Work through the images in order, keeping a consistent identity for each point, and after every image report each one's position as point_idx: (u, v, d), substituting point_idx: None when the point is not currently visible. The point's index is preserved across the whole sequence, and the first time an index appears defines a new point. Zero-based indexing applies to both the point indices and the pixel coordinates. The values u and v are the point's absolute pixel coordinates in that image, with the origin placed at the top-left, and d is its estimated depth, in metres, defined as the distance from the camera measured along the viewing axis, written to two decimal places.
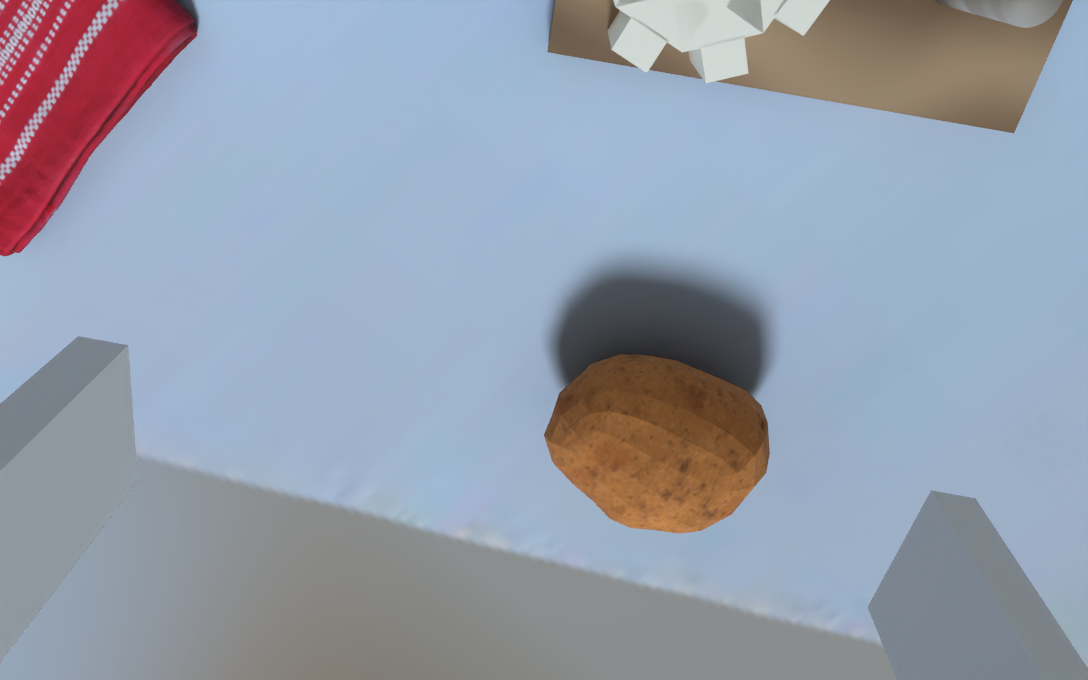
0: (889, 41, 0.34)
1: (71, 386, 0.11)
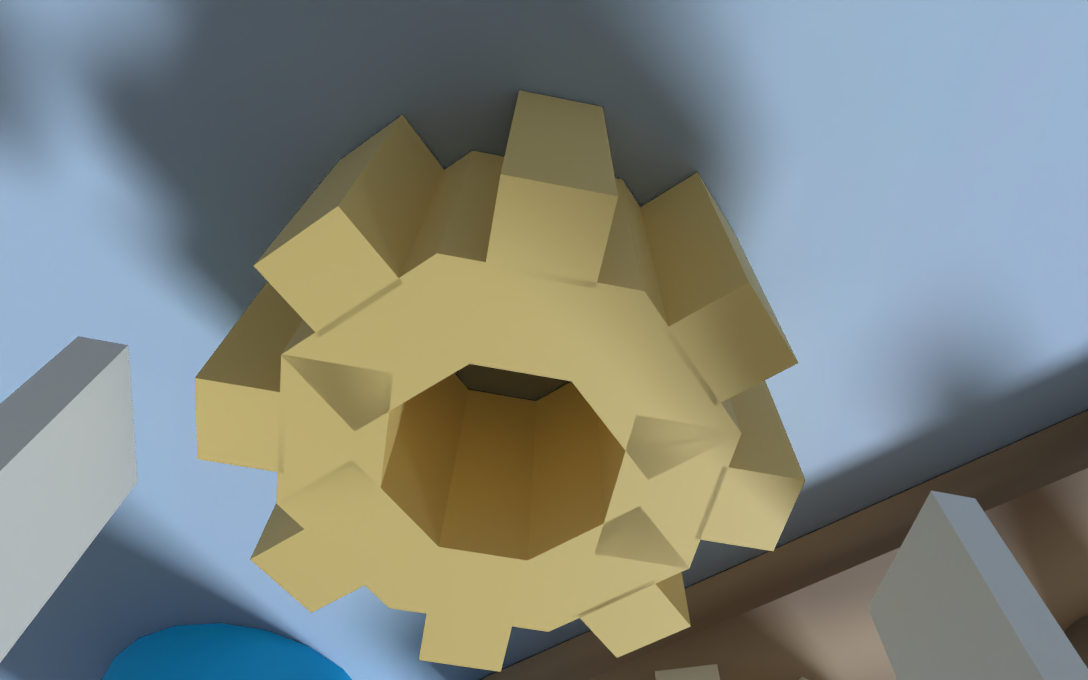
0: None
1: (71, 386, 0.11)
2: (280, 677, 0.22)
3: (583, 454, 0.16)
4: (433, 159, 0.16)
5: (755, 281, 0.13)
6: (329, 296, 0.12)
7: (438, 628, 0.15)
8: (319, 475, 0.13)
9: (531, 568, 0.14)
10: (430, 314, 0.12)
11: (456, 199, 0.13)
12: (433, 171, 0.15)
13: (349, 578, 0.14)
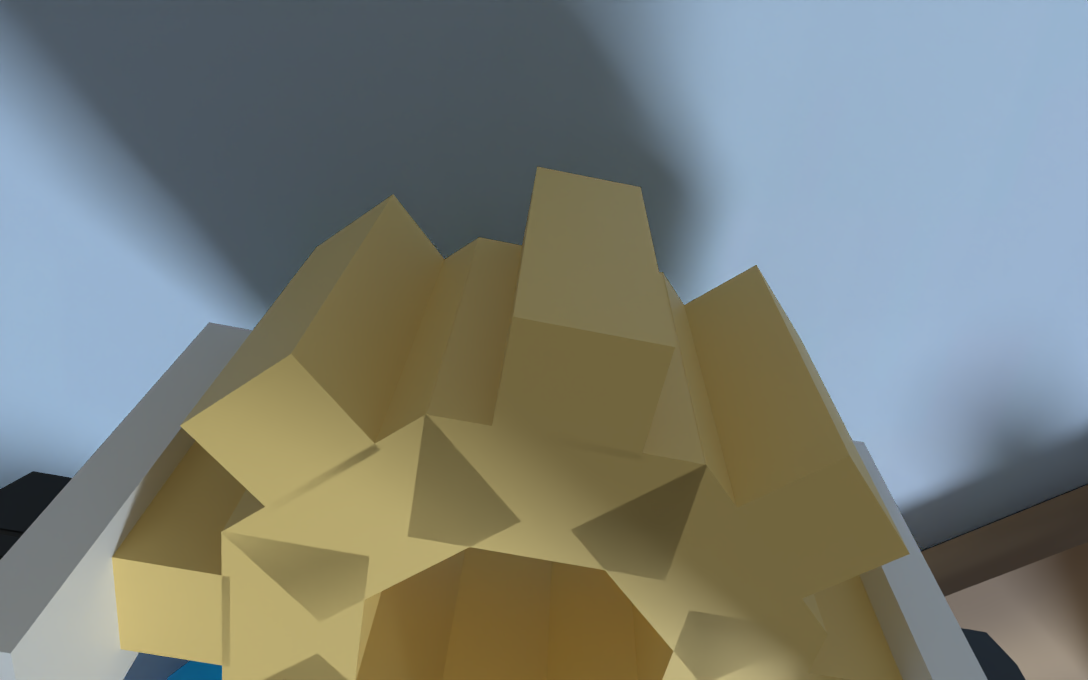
0: None
1: (214, 366, 0.12)
2: None
3: (613, 616, 0.13)
4: (430, 248, 0.13)
5: (840, 423, 0.10)
6: (282, 464, 0.09)
7: None
8: (276, 670, 0.10)
9: None
10: (417, 488, 0.09)
11: (456, 316, 0.10)
12: (430, 264, 0.12)
13: None
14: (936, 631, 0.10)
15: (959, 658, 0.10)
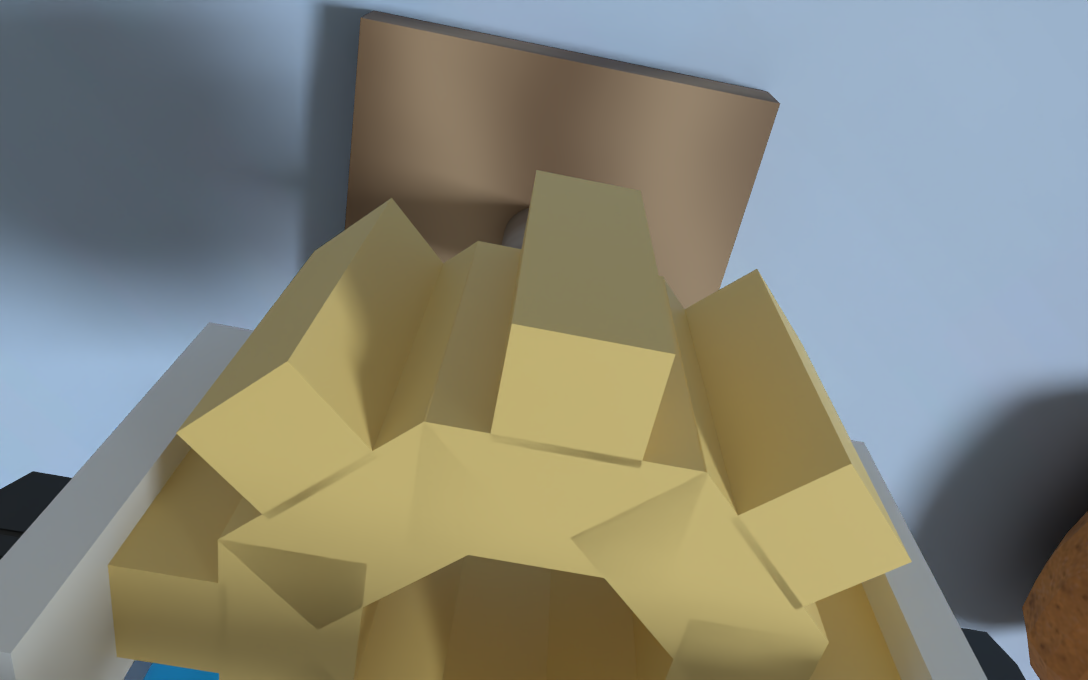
0: None
1: (213, 366, 0.12)
2: None
3: (612, 621, 0.12)
4: (429, 252, 0.13)
5: (842, 429, 0.10)
6: (279, 471, 0.09)
7: None
8: (273, 678, 0.10)
9: None
10: (415, 496, 0.09)
11: (455, 321, 0.10)
12: (429, 268, 0.12)
13: None
14: (936, 631, 0.10)
15: (959, 658, 0.10)
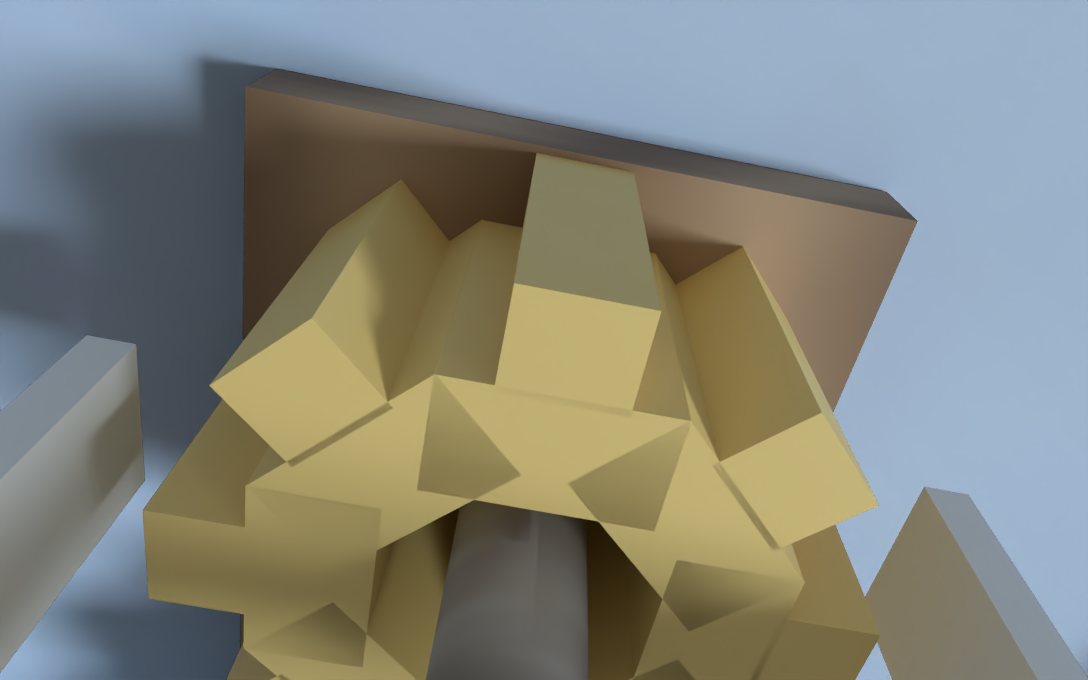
0: None
1: (80, 385, 0.11)
2: None
3: (607, 576, 0.13)
4: (436, 230, 0.13)
5: (819, 390, 0.11)
6: (303, 421, 0.09)
7: None
8: (294, 619, 0.11)
9: None
10: (427, 444, 0.10)
11: (462, 290, 0.11)
12: (436, 244, 0.13)
13: None
14: None
15: None
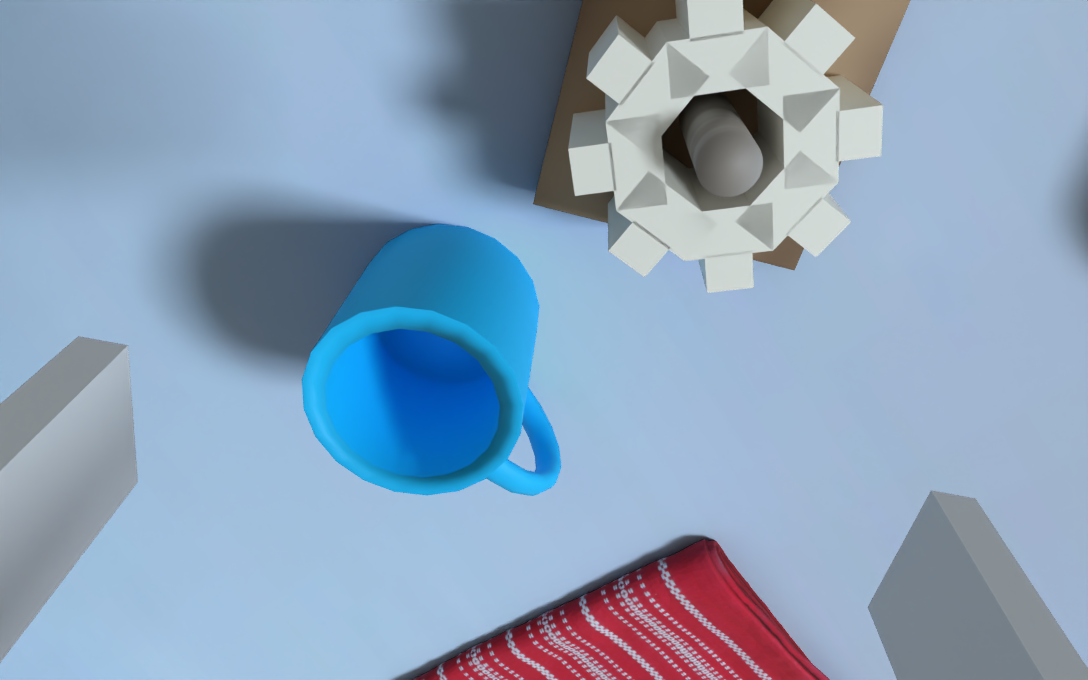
0: None
1: (71, 385, 0.11)
2: (422, 235, 0.33)
3: None
4: None
5: None
6: None
7: None
8: None
9: None
10: None
11: None
12: None
13: None
14: None
15: None
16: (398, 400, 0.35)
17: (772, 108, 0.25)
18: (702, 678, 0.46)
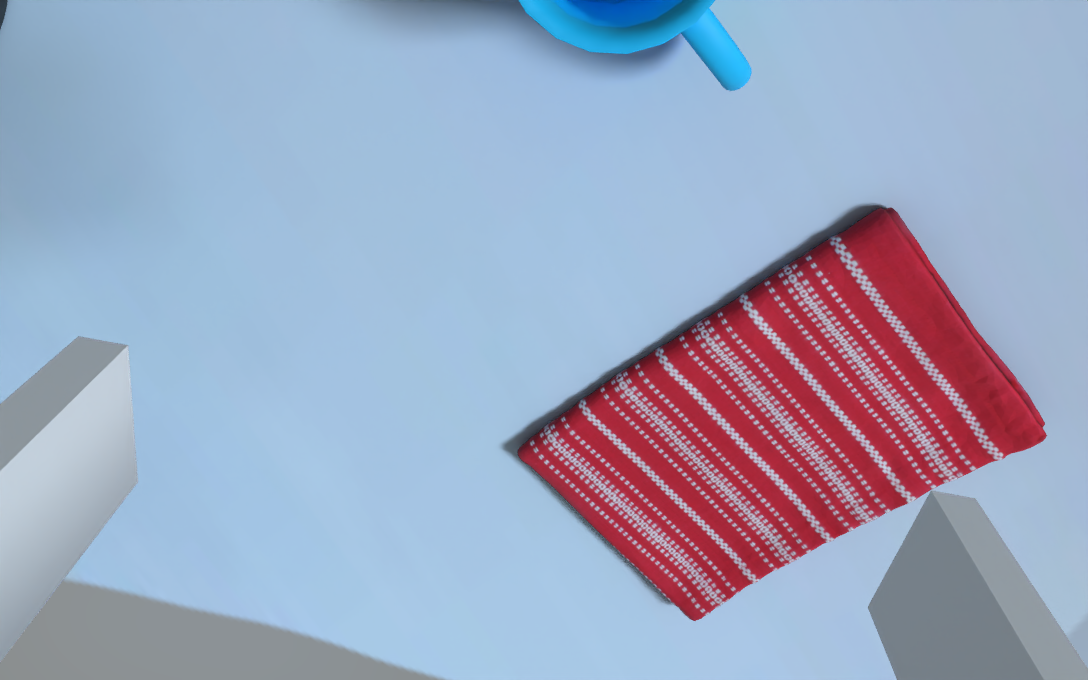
0: None
1: (70, 386, 0.11)
2: None
3: None
4: None
5: None
6: None
7: None
8: None
9: None
10: None
11: None
12: None
13: None
14: None
15: None
16: None
17: None
18: (869, 388, 0.42)
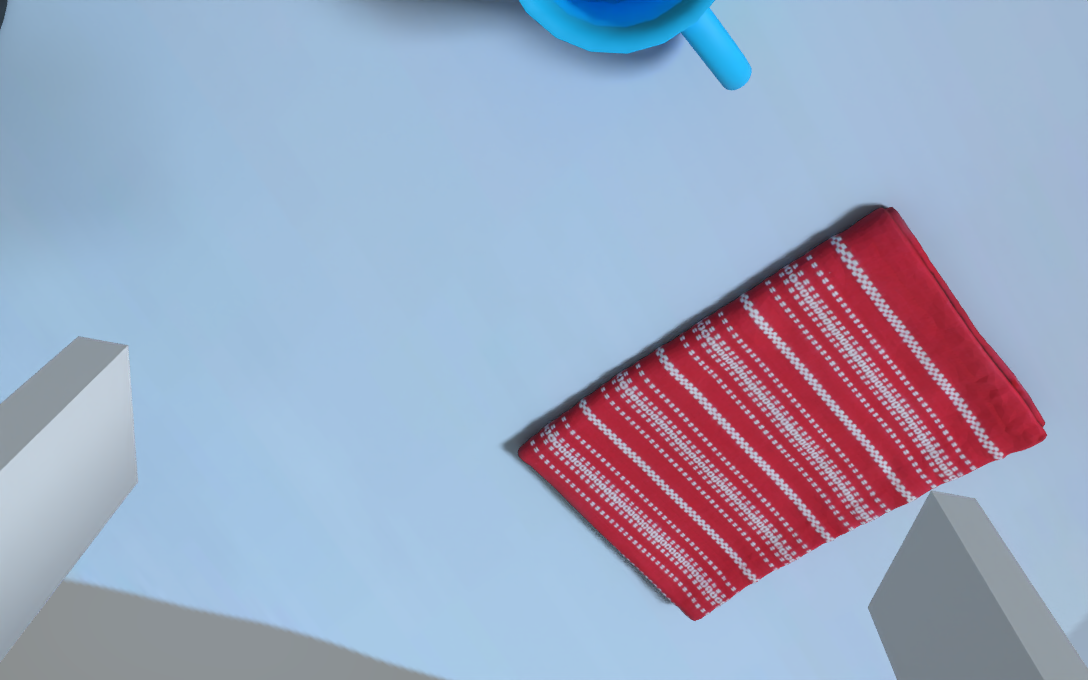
0: None
1: (71, 386, 0.11)
2: None
3: None
4: None
5: None
6: None
7: None
8: None
9: None
10: None
11: None
12: None
13: None
14: None
15: None
16: None
17: None
18: (870, 388, 0.42)
